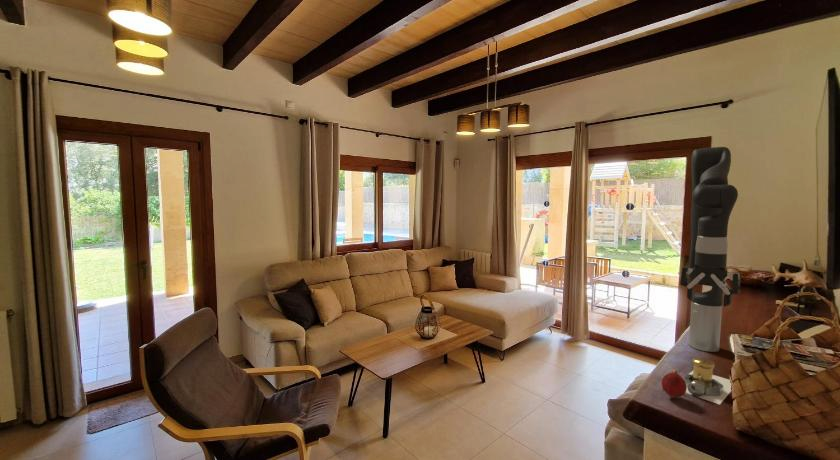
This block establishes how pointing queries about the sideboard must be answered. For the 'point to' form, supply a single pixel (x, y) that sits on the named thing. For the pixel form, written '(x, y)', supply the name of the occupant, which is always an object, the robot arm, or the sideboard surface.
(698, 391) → the grey octagonal ring
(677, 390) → the onion
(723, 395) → the board
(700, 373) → the knob
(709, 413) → the sideboard surface
